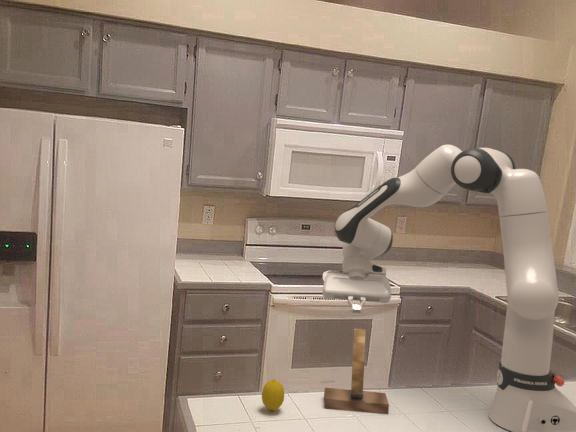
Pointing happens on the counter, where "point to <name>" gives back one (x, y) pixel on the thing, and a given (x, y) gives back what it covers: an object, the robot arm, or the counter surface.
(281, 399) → the lemon
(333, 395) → the brown wooden block
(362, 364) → the tan wooden peg
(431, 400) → the counter surface
